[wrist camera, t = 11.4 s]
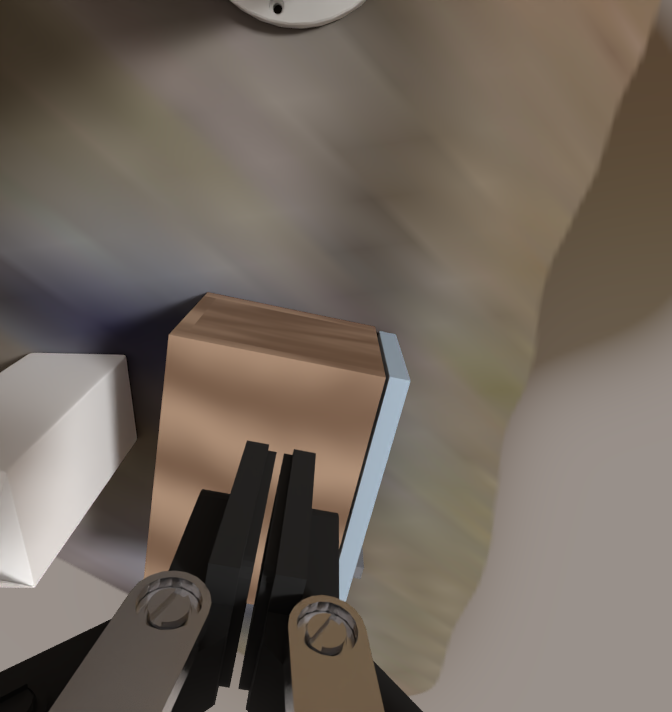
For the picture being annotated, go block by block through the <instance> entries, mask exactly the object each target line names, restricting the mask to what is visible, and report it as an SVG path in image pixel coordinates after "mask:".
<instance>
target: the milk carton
mask: <svg viewBox="0 0 672 712" xmlns="http://www.w3.org/2000/svg"><path fill="white" fill-rule="evenodd" d="M136 440H137V434H136V426H135V419H134V412H133V404H132V397H131V389H130V382H129V375H128V367H127V360H126V356H125V355H111V354H64V353H30V354H28V355H26V356H25V357H23V358H22V359H20V360H19V361H17V362H16V363H14V364H13V365H11V366H9V367H8V368H6V369H5V370H3V371H2V372H0V587H10V588H35V586H36V585H37V583H38V582H39V580H40V579H41V577H42V576H43V574H44V573H45V572H46V570H47V569H48V567H49V566H50V564H51V563H52V562H53V560H54V559H55V557H56V556H57V554H58V553H59V552H60V550H61V549H62V547H63V546H64V544H65V543H66V541H67V540H68V539H69V537H70V536H71V534H72V533H73V531H74V530H75V528H76V527H77V526H78V524H79V523H80V521H81V520H82V518H83V517H84V515H85V514H86V513H87V511H88V510H89V508H90V507H91V505H92V504H93V503H94V501H95V500H96V498H97V497H98V495H99V494H100V492H101V491H102V490H103V488H104V487H105V485H106V484H107V482H108V481H109V479H110V478H111V477H112V475H113V474H114V472H115V471H116V469H117V468H118V467H119V465H120V464H121V462H122V461H123V459H124V458H125V456H126V455H127V454H128V452H129V451H130V449H131V448H132V446H133V445H134V443H135V442H136Z"/></svg>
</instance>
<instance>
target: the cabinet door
mask: <svg viewBox="0 0 672 712" xmlns="http://www.w3.org/2000/svg"><path fill="white" fill-rule="evenodd" d="M378 343H379V347H380V352H381V357H382V362H383V366H384V371H385V376H386V379H385V383H384V387H383V390H382V394H381V398H380V401H379V405H378V409H377V412H376V416H375V420H374V423H373V427H372V431H371V434H370V438H369V442H368V445H367V449H366V453H365V456H364V460H363V464H362V467H361V471H360V475H359V478H358V482H357V486H356V489H355V493H354V497H353V500H352V504H351V508H350V511H349V515H348V519H347V522H346V526H345V530H344V533H343V537H342V541H341V544H340V548H339V599H340V600H342V601H345V602H346V599H347V595H348V592H349V589H350V585H351V582H352V578H359V579H361V575H362V572H363V569H364V565H363V549H362V544H363V541H364V537H365V534H366V531H367V527H368V524H369V520H370V517H371V514H372V510H373V507H374V503H375V500H376V497H377V493H378V490H379V486H380V483H381V480H382V476H383V473H384V469H385V466H386V462H387V459H388V456H389V452H390V449H391V445H392V442H393V439H394V435H395V432H396V428H397V425H398V422H399V418H400V415H401V411H402V408H403V405H404V401H405V398H406V394H407V391H408V388H409V384H410V378H409V375H408V371H407V368H406V365H405V362H404V359H403V356H402V352H401V349H400V346H399V343H398V340H397V337H396V334H391V333H386V332H382V331H379V334H378Z"/></svg>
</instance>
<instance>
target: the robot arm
mask: <svg viewBox="0 0 672 712" xmlns="http://www.w3.org/2000/svg"><path fill="white" fill-rule="evenodd" d="M230 1H231V2H232V3H233V4H234V5H236V6H237V7H238V8H239V9H240V10H242V11H244V12H245V13H247V14H249V15H251V16H253V17H255V18H256V19H258V20H260V21H263V22H266V23H269V24H273V25H276V26H279V27H287V28H300V29H303V28H310V27H317V26H323V25H325V24H328V23H331V22H333V21H336V20H338V19H341V18H343V17H344V16H346V15H348V14H349V13H351V12H352V11H354V10H355V9H357V8H359V7H360V6H361V5H362V4H363V3H364V2H365V1H366V0H230ZM276 5H280V6H282V12H281V13H280V14H276V13H274V7H275V6H276ZM268 449H269V444H264V443H259V442H254V441H248V440H247V442H246V445H245V448H244V451H243V455H242V458H241V461H240V464H239V467H238V471H237V474H236V477H235V480H234V483H233V486H232V490H231V493H230V494H228V493H222V492H217V491H211V490H205V489H202V490H201V492H200V494H199V496H198V499H197V501H196V504H195V506H194V508H193V511H192V513H191V516H190V518H189V521H188V523H187V526H186V528H185V531H184V533H183V536H182V538H181V541H180V543H179V546H178V548H177V551H176V553H175V556H174V558H173V561H172V563H171V566H170V568H169V570H168V571H163V572H159V573H156V574H153V575H150V576H148V577H146V578H145V579H143V580H142V581H140V582H139V583H138V584H137V585H136V586H135V587H134V588H133V589H132V590H131V591H130V593H129V594H128V596H127V597H126V599H125V600H124V602H123V603H122V605H121V606H120V608H119V609H118V611H117V612H116V614H115V615H114V616H113V618H112V619H110V620H108V621H106V622H104V623H102V624H100V625H98V626H96V627H94V628H92V629H90V630H88V631H85V632H83V633H81V634H79V635H77V636H75V637H73V638H71V639H69V640H67V641H65V642H63V643H60V644H58V645H56V646H54V647H52V648H50V649H48V650H46V651H44V652H42V653H39V654H37V655H36V656H33V657H31V658H29V659H27V660H25V661H23V662H21V663H19V664H16V665H15V666H12V667H10V668H8V669H6V670H4V671H2V672H0V712H205V711H206V710H208V709H209V708H211V707H212V706H213V705H215V700H216V696H217V692H218V687H219V686H223V687H230V682H231V678H232V673H233V667H234V663H235V658H236V653H237V648H238V643H239V638H240V633H241V628H242V623H243V618H244V613H245V608H246V603H247V598H248V593H249V588H250V583H251V578H252V573H253V569H254V564H255V559H256V554H257V549H258V544H259V539H260V534H261V529H262V524H263V519H264V514H265V509H266V504H267V499H268V494H269V489H270V484H271V479H272V474H273V469H274V464H275V459H276V454H277V452H274V451H269V450H268ZM315 460H316V453H313V452H307V451H302V450H297V449H294V450H293V454H292V455H290V454H285V453H284V456H283V460H282V465H281V470H280V475H279V480H278V485H277V489H276V494H275V499H274V504H273V509H272V514H271V519H270V523H269V528H268V533H267V538H266V543H265V548H264V553H263V558H262V564H261V569H260V575H259V580H258V585H257V591H256V596H255V602H254V607H253V612H252V618H251V623H250V629H249V634H248V639H247V645H246V650H245V656H244V661H243V667H242V672H241V677H240V683H239V689H243V690H249V694H248V699H247V705H246V710H247V711H248V712H423V711H421V709H420V708H419V707H418V706H417V705H416V704H415V703H414V702H412V700H411V699H410V698H409V697H408V696H407V695H406V694H405V693H404V692H403V691H402V690H401V689H400V688H399V687H398V686H397V685H396V684H395V683H394V682H393V681H392V680H391V679H390V678H389V676H388V675H387V674H386V673H385V672H384V671H383V670H382V669H381V668H380V667H379V666H378V665H377V664H376V663H375V662H374V661H373V658H372V653H371V649H370V644H369V640H368V635H367V631H366V627H365V625H364V622H363V620H362V618H361V616H360V615H359V614H358V613H357V611H356V610H355V609H354V608H353V607H351V606H350V605H349V604H347V603H346V602H345V601H342V600H340V599H339V514H338V513H335V512H329V511H323V510H318V509H312V501H313V487H314V474H315Z"/></svg>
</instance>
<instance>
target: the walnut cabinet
mask: <svg viewBox="0 0 672 712" xmlns="http://www.w3.org/2000/svg"><path fill="white" fill-rule="evenodd" d="M385 379H386V376H385V371H384V366H383V362H382V357H381V352H380V347H379V343H378V338H377V333H376V329H375V327H374V326H369V325H365V324H360V323H355V322H350V321H345V320H340V319H335V318H331V317H326V316H321V315H316V314H311V313H306V312H301V311H297V310H292V309H287V308H282V307H277V306H272V305H268V304H263V303H258V302H253V301H248V300H243V299H238V298H234V297H229V296H224V295H219V294H214V293H209V292H207V294H206V295H205V296H204V297H203V298H202V299H201V300H200V301H199V302H198V303H197V304H196V306H195V307H194V308H193V309H192V310H191V311H190V312H189V313H188V314H187V315H186V316H185V317H184V319H183V320H182V321H181V322H180V323H179V324H178V325H177V326H176V327H175V328H174V329H173V331H172V332H171V333H170V334H169V338H168V347H167V357H166V367H165V377H164V387H163V396H162V406H161V416H160V426H159V436H158V445H157V455H156V465H155V475H154V485H153V494H152V504H151V514H150V524H149V534H148V543H147V553H146V563H145V573H144V579H145V578H146V577H148V576H150V575H153V574H156V573H159V572H163V571H168V570H169V568H170V566H171V563H172V561H173V558H174V556H175V553H176V551H177V548H178V546H179V543H180V541H181V538H182V536H183V533H184V531H185V528H186V526H187V523H188V521H189V518H190V516H191V513H192V511H193V508H194V506H195V504H196V501H197V499H198V496H199V494H200V492H201V490H202V489H205V490H211V491H217V492H222V493H228V494H230V493H231V490H232V486H233V483H234V480H235V477H236V474H237V471H238V467H239V464H240V461H241V458H242V455H243V451H244V448H245V445H246V442H247V440H248V441H254V442H259V443H264V444H269V449H268V450H269V451H274V452H277V454H276V459H275V464H274V469H273V474H272V479H271V484H270V489H269V494H268V499H267V504H266V509H265V514H264V519H263V524H262V529H261V534H260V539H259V544H258V549H257V554H256V559H255V564H254V569H253V573H252V578H251V583H250V588H249V593H248V598H247V603H248V604H254V602H255V596H256V591H257V585H258V580H259V575H260V569H261V564H262V558H263V553H264V548H265V543H266V538H267V533H268V528H269V523H270V519H271V514H272V509H273V504H274V499H275V494H276V489H277V485H278V480H279V475H280V470H281V465H282V460H283V456H284V453H285V454H290V455H292V454H293V450H294V449H297V450H302V451H307V452H313V453H316V460H315V474H314V487H313V501H312V509H318V510H323V511H329V512H335V513H338V514H339V548H340V544H341V541H342V537H343V533H344V530H345V526H346V522H347V519H348V515H349V511H350V508H351V504H352V500H353V497H354V493H355V489H356V486H357V482H358V478H359V475H360V471H361V467H362V464H363V460H364V456H365V453H366V449H367V445H368V442H369V438H370V434H371V431H372V427H373V423H374V420H375V416H376V412H377V409H378V405H379V401H380V398H381V394H382V390H383V387H384V383H385Z"/></svg>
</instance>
